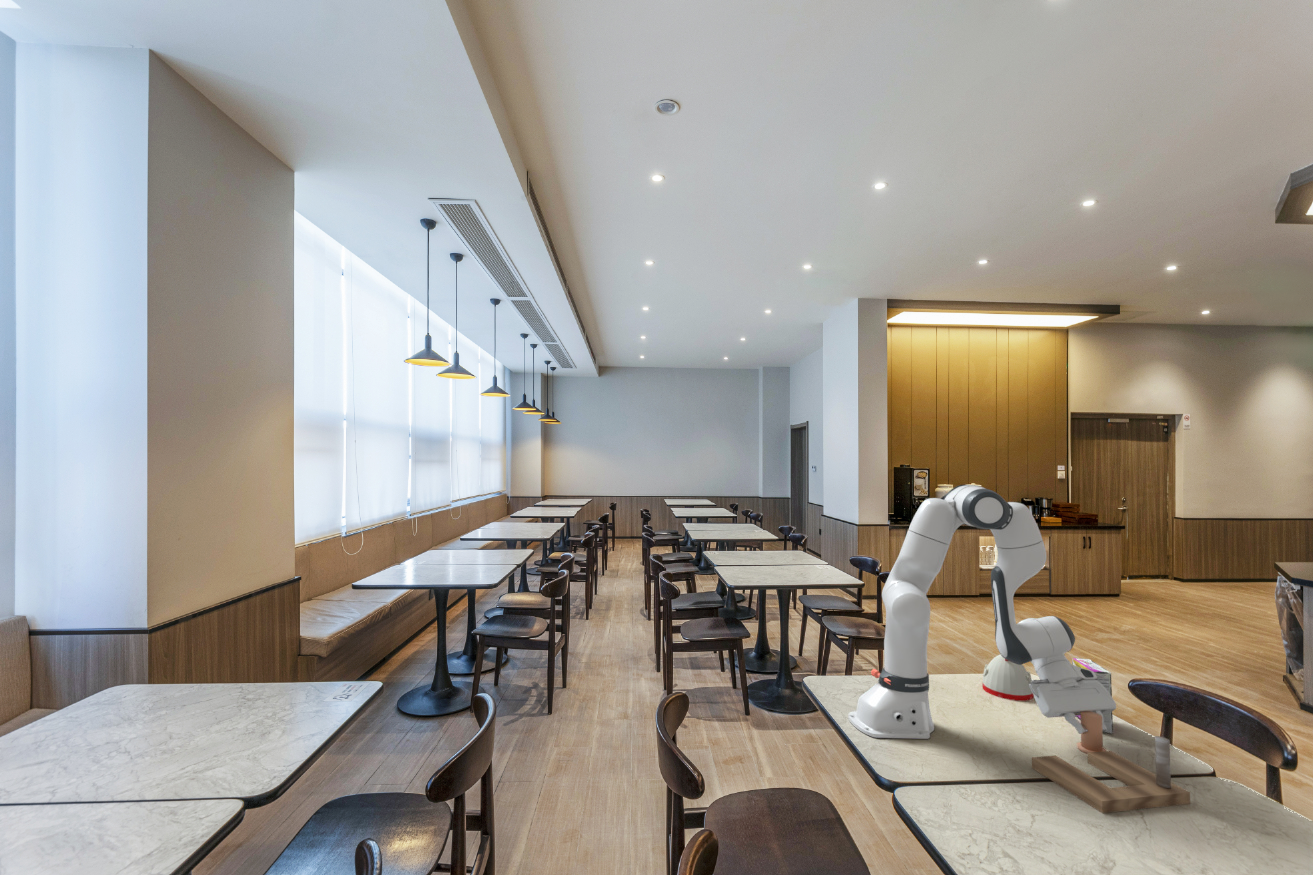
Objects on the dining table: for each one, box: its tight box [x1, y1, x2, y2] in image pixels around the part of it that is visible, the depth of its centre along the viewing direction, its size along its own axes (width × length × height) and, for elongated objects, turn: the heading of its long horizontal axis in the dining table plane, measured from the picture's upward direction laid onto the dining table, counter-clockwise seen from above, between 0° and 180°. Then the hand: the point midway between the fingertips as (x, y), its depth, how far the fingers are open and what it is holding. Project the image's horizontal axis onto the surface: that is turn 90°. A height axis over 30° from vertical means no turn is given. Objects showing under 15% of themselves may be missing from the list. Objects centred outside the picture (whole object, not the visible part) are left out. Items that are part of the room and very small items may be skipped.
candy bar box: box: [1071, 657, 1114, 734], centre depth 162 cm, size 11×5×16 cm, turn 168°
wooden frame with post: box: [1031, 735, 1191, 814], centre depth 131 cm, size 22×18×12 cm
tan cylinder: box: [1076, 711, 1108, 755], centre depth 146 cm, size 6×6×9 cm
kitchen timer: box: [981, 653, 1034, 702], centre depth 184 cm, size 14×14×15 cm
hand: (1093, 732), depth 146 cm, fingers closed on tan cylinder, 4 cm apart
